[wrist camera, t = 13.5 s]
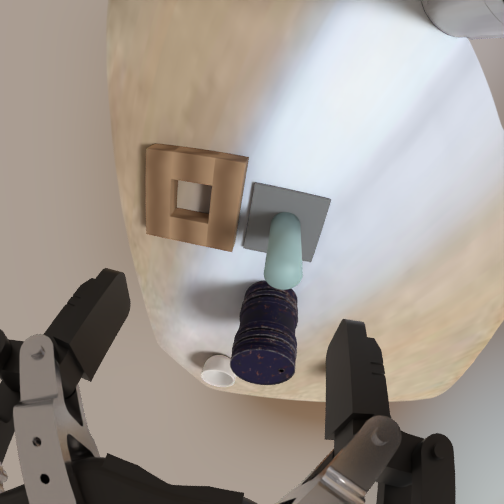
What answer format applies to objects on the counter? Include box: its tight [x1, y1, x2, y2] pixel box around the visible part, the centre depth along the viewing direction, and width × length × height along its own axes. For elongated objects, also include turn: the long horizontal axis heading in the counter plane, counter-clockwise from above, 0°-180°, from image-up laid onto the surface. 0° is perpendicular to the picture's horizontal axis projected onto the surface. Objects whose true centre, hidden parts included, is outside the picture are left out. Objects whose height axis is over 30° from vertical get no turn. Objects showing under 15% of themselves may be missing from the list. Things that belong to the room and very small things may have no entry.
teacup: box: [201, 355, 238, 387], centre depth 63 cm, size 10×8×5 cm
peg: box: [264, 212, 302, 290], centre depth 38 cm, size 4×4×12 cm
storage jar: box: [230, 281, 298, 385], centre depth 47 cm, size 10×10×15 cm
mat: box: [244, 182, 331, 262], centre depth 44 cm, size 11×11×1 cm
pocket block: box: [146, 144, 249, 252], centre depth 42 cm, size 14×14×3 cm
